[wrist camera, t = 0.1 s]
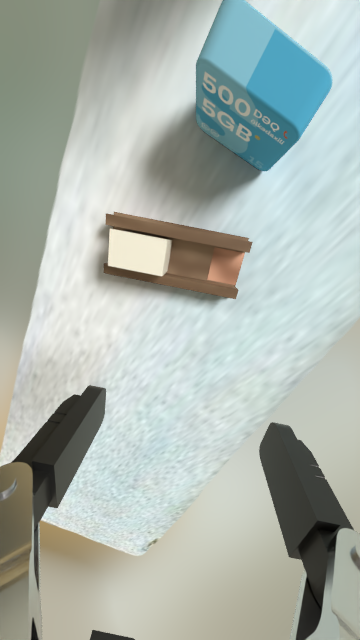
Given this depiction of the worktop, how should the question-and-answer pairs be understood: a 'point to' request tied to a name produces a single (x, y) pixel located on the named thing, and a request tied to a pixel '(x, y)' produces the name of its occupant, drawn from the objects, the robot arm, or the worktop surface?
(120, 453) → the worktop surface
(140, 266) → the sand block
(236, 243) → the walnut chute
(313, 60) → the blue labeled box
